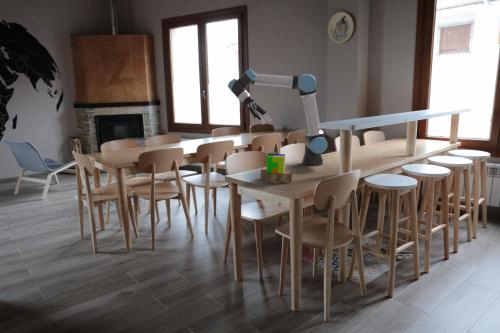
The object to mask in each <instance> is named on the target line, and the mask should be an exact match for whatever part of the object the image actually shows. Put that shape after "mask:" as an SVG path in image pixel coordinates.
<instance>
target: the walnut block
mask: <svg viewBox="0 0 500 333" xmlns="http://www.w3.org/2000/svg"><path fill="white" fill-rule="evenodd" d="M292 174H293V173H292V172H290V171H289V170H287V169H286V168H285V171H284V174H274V173H267V168H265V169H263V168H262V169H260V179H261V180H262V181H263V182H264V183H265V184H267V185H274V184H288V183H289V184H291V183H292V180H293V178H292V177H293V176H292ZM292 184H293V183H292Z"/></svg>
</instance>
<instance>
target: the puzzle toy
mask: <svg viewBox="0 0 500 333" xmlns="http://www.w3.org/2000/svg"><path fill="white" fill-rule="evenodd" d="M266 169H267V173H274V174H284V171H285V169H286V155H285V153H268V154H267V156H266Z"/></svg>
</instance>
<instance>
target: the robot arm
mask: <svg viewBox="0 0 500 333" xmlns="http://www.w3.org/2000/svg"><path fill="white" fill-rule="evenodd" d="M249 85H258V86H268V87H269V86H270V87H281V88H289V89H290V90H296V91H298V96H299V97H300V98H302V104H303V105H302V106H303V109H304V115H305V120H306V126H307V131H308V132H306V133H305V134H304V135H305V136H304V153H303V154H304V155H303V157H302V160H301V163H302V165H306V166H322V165H323V164H324V159H323V157H322V154H323V153H324V152H325V151H326V150H327V148H328V141H327V139H326V136H325V132H324V131H323V130H322V128H318V124H319V123H320V124H321V122H320V116H319V111H318V106H317V105H318V104H317V100H316V99H317V98H316V94H318V93H317V78H316V77H315V76H314V75H312V74H310V73H304V74H298V75H295V74H292V75H289V76H288V75H278V74H277V75H276V74H264V73H255V71H254V69H252V68H248V69H247V70H246V71H245V72H244V73H242V75H241V76H239V77H238V79H236V78H233V79H231V80H230V81H229V82H228V84H227V88H228V89H229V90H230V91H231V92H232V93H233V94H234V96H235V97H236V98H237V99H238V101H239V102H241V103H242V105H243V106H244V107H245V108H247V109H248V110H249V112H250V113H251V115H252V116H253V118H254V119H257V121H259V122H260V124H261V125H265V124H266V121H267V122H268V123H269V124H270V123H271V122H272V121H273V119H272V118H271V117H270V116H269V115H268V113H267V110H265V109H264V108H262V106H260V105H259V104H257V102H254V100H255V98H254V97H253V95H251V94H250V92H248V91H247V90H246V88H247V87H248V86H249ZM261 115H262V116H263V117H262V116H261Z"/></svg>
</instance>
